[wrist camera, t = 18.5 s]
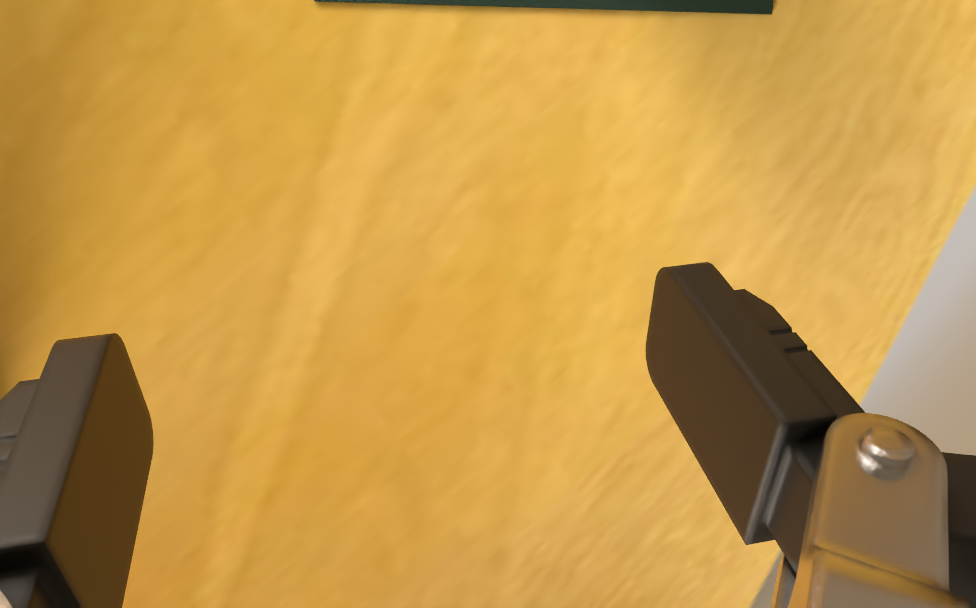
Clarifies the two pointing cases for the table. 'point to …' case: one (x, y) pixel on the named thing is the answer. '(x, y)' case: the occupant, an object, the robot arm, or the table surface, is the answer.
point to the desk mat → (606, 4)
